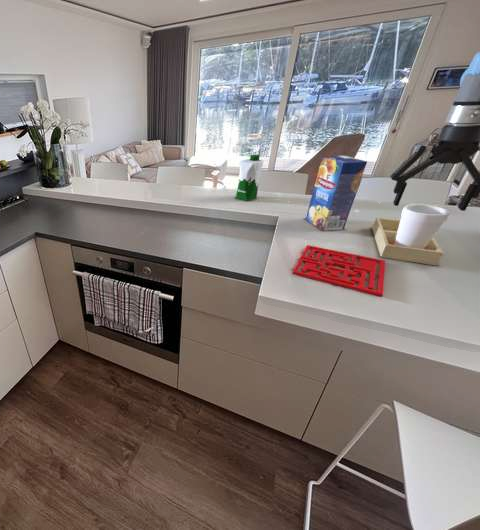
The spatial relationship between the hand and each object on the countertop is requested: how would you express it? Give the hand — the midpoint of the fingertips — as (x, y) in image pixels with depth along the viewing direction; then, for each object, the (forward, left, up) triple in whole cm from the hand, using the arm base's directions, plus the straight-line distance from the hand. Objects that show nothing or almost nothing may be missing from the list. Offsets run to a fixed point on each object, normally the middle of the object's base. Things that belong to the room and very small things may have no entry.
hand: (426, 206), depth 81 cm
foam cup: (0, 0, -14) cm, 14 cm away
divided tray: (0, -6, -15) cm, 16 cm away
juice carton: (+21, -16, -15) cm, 31 cm away
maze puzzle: (+17, +19, -15) cm, 30 cm away
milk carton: (+54, -39, -15) cm, 69 cm away
